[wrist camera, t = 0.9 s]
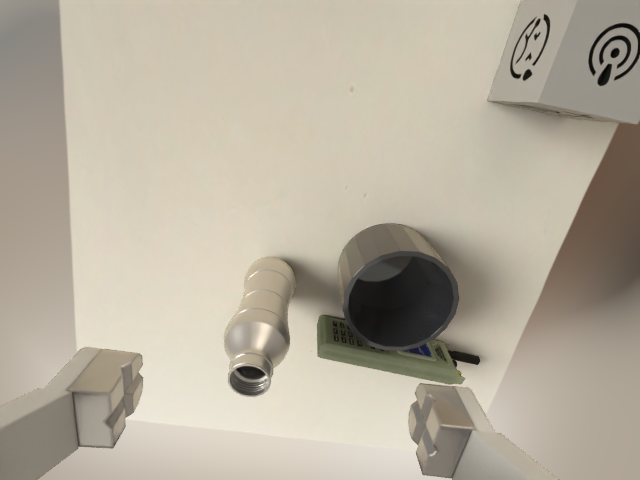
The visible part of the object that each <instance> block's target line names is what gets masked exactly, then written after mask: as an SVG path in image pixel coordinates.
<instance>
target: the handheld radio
mask: <svg viewBox="0 0 640 480" xmlns="http://www.w3.org/2000/svg"><path fill="white" fill-rule="evenodd" d="M317 346H318V357H320V358H324V359H329V360H333V361H338V362H343V363H348V364H353V365H358V366H363V367H368V368H372V369H377V370H382V371H387V372H392V373H397V374H402V375H406V376H411V377H416V378H421V379H426V380H431V381H436V382H440V383H445V384H462V383H463V381H464V380H465V378H464V377H462V376H461V372H460V371H458V370H457V369H456V367H457V362H456V361H455V360H457V361H462V362H466V363H471V364H475V365H478V364H479V362H480V358H479V357H478V356H475V355H470V354H466V353H461V352H457V351H450V350H447V349H448V347H449V345H447V344H444V343H443V342H441V341H436V340H431V341H429V342H427V343H425V344H423V345H421V346H419V347H416V348H412V349H407V350H403V351H393V350H382V349H379V348H376V347H372V346H369V345H368V344H366V343H365V342H363V341H362V340H360V339H359V338H358V337H356V336H355V335H354V333H353V332H352V330H351V329H350V328H349V326H348V325H347V323H346V320H341V319H337V318H332V317H328V316H323V315H321V316H320V317H319V320H318V324H317ZM452 359H453V360H452Z"/></svg>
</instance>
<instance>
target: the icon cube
mask: <svg viewBox="0 0 640 480" xmlns="http://www.w3.org/2000/svg"><path fill="white" fill-rule="evenodd" d="M487 101H492V102H496V103H501V104H505V105H510V106H515V107H519V108H524V109H528V110H533V111H538V112H542V113H547V114H552V115H556V116H561V117H565V118H575V119H585V120H596V121H607V122H617V123H629V124H638V122H639V120H640V0H522V1H521V3H520V6H519V9H518V12H517V15H516V17H515V20H514V23H513V26H512V29H511V32H510V35H509V38H508V41H507V44H506V47H505V50H504V53H503V56H502V59H501V61H500V64H499V67H498V70H497V73H496V76H495V79H494V82H493V85H492V88H491V91H490V94H489V97H488V100H487Z"/></svg>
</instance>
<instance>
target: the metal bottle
mask: <svg viewBox="0 0 640 480" xmlns="http://www.w3.org/2000/svg"><path fill="white" fill-rule="evenodd" d="M295 288H296V280H295V276H294V272H293V270H292V268H291V267H290V266H289V265H288V264H287V263H286V262H285V261H283V260H281V259H278V258H274V257H265V258H261V259H259V260H257V261H256V262H254V263H253V264H252V266H251V267H250V268H249V269H248V271H247V273H246V276H245V283H244V289H245V290H244V295H243V299H242V302H241V304H240V306H239V308H238V310H237V312H236V313H235V315H234V316H233V318H232V319H231V321H230V322H229V324H228V326H227V328H226V330H225V333H224V346H225V351H226V353H227V355H228V357H229V358H230V360H231V362H230V367H229V369H230V370H229V374H228V383H229V385H230V387H231V388H232V390H233V391H235V392H236V393H238V394H240V395H242V396H246V397H255V396H259V395H262V394H263V393H265V392H266V391H267V390H268V388H269V386H270V384H271V377H272V375H273V368H275V367H276V366H277V365H279V364H280V363H281V362H282V360H283V359H284V357H285V356H286V354H287V352H288V350H289V345H290V335H289V328H288V307H289V303H290V300H291V298H292V296H293V293H294V291H295Z"/></svg>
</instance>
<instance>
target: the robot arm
mask: <svg viewBox="0 0 640 480" xmlns="http://www.w3.org/2000/svg"><path fill="white" fill-rule="evenodd" d="M142 365H143V363H142V355H141V354H140V353H133V352H125V351H117V350H110V349H99V348H91V347H84V348H82V349H80V350H79V351H78V352H77V353H76V354H75V355H74V357H73V358H72V359H71V360H70V361H69V362H68V363H67V364H66V365H65V366H64V367H63V369H62V370H61V371H60V372H59V373H58V374H57V375H56V376H55V377H54V378H53V379H52V380H51V382H49V384H48V385H47V386H46V387H45V388H44V389H40V388H37V389H35V390H33V391H31V392H29V393H27V394H24V395H22V396H20V397H18V398H16V399H14V400H12V401H10V402H7V403H5V404H3V405H1V406H0V480H37V479H39V478H40V477H41V476H43V475H44V474H45V473H46V472H48V471H49V470H51V469H52V468H53V467H55V466H56V465H57V464H59V463H60V462H61V461H62V460H64V459H65V458H66V457H68V456H69V455H70V454H72V453H73V452H74V451H76V450H77V449H78V446H79V447H98V448H114V446H115V444H116V442H117V440H118V439H119V437H120V435H121V434H122V432H123V430H124V428H125V426H126V425H125V418H126V417H127V416H129V415H131V414H132V413H133V412H134V411H135V409H136V407H137V405H138V403H139V400H140V397H141V394H142V388H143V377H142V376H141V375H140V373H139V370H140V369H141V367H142ZM415 395H416V398H417V401H416V402H414V403H413V404H412V405H411V408H410V411H409V421H408V424H409V431H410V435H411V438H412V440H413V441H414V442H415V443H416V444H417V445H418V448H417V451H416V455H417V458H418V461H419V464H420V468H421V471H422V474H423V475H428V476H437V477H445V478H452V480H559V479H558V478H556V477H555V476H554V475H553V474H551V473H550V472H549V471H547V470H546V469H545V468H544V467H542V466H541V465H540V464H539V463H538V462H536V461H535V460H534V459H532V458H531V457H530V456H529V455H527V454H526V453H525V452H524V451H522V450H521V449H520V448H519V447H517V446H516V445H515V444H514V443H512V442H511V441H510V440H509V439H507V438H506V437H505V436H504V435H502V434H501V433H496V432H495V431H494V429H493V427H492V425H491V424H490V422H489V420H488V419H487V416H486V415H485V413H484V411H483V409H482V408H481V406H480V404H479V402H478V401H477V399H476V397H475V395H474V394H473V392H472V390H471V389H469V388H468V387H456V386H452V387H451V386H442V385H432V384H422V383H420V384H419V385H418V386H417V389H416V392H415Z"/></svg>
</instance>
